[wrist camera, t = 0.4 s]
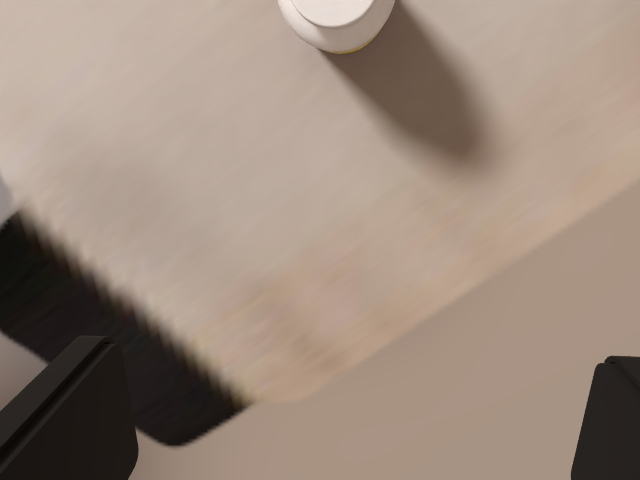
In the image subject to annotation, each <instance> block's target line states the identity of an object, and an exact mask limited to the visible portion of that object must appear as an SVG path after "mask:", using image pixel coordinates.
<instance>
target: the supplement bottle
mask: <svg viewBox="0 0 640 480" xmlns="http://www.w3.org/2000/svg"><path fill="white" fill-rule="evenodd" d="M278 3H279V6H280V9H281V12H282V14H283V16H284V18H285V20H286V22H287V24H288V25H289V27H290V28H291V29H292V30H293V31H294V33H295V34H296V35H297V36H298V37H300V38H301V39H302V40H303V41H305V42H306V43H308V44H310V45H312V46H314V47H316V48H319V49H321V50H324V51H327V52H330V53H335V54H345V53H351V52H355V51H357V50H359V49H361V48H363V47H365V46H366V45H367V44H369V43H370V42H371V41H372V40H373V39H374V38H375V37H376V35H377V34H378V33H379V31H380V30H381V28H382V27H383V25H384V24H385V22H386V21H387V19H388V17H389V15H390V13H391V11H392V9H393V6H394V3H395V0H278Z"/></svg>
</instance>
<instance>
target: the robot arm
mask: <svg viewBox="0 0 640 480" xmlns="http://www.w3.org/2000/svg"><path fill="white" fill-rule="evenodd" d="M137 458H138V442H137V437H136V431H135V425H134V419H133V413H132V407H131V401H130V395H129V390H128V384H127V378H126V372H125V366H124V360H123V354H122V350H121V347H120V346H119V345H118V344H114V341H113V340H112V338H110V337H107V336H79V337H78V338H76V339H75V340H74V341H73V342H72V343H71V344H70V345H69V346H68V347H67V348H66V349H65V350H63V351H62V352H61V353H60V354H59V355H58V356H57V357H56V358H55V359H54V360H53V361H52V362H51V363H50V364H49V365H48V366H47V367H46V368H45V369H44V370H43V371H42V372H41V373H40V374H39V375H38V376H37V377H35V378H34V379H33V380H32V382H30V383H29V384H28V385H27V386H26V387H25V388H24V389H23V390H22V391H21V392H20V393H19V394H18V395H17V396H16V397H15V398H14V399H13V400H12V401H11V402H10V403H9V404H8V405H6V406H5V407H4V408H3V409H2V410H1V411H0V480H128V478H129V476H130V475H131V473H132V471H133V469H134V467H135V465H136V462H137ZM571 480H640V357H631V356H609V357H607V359H606V360H605V362H604V363H600V364H598V365H597V366H596V368H595V371H594V376H593V380H592V384H591V388H590V393H589V397H588V401H587V406H586V410H585V414H584V418H583V423H582V427H581V431H580V435H579V440H578V444H577V448H576V453H575V457H574V461H573V466H572V470H571Z"/></svg>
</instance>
